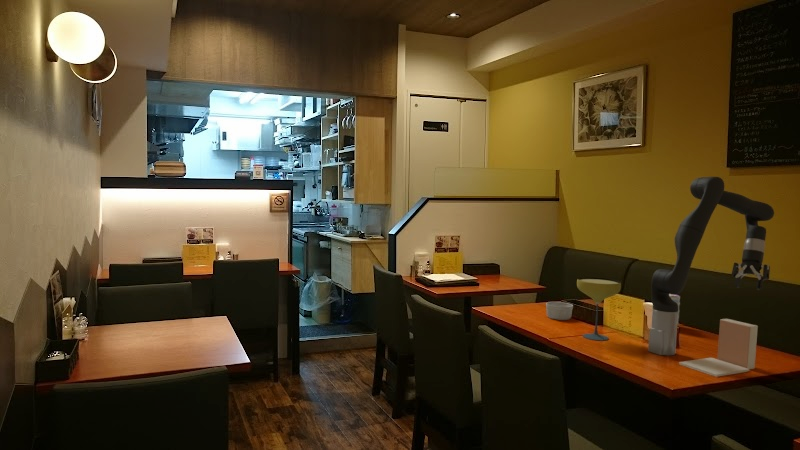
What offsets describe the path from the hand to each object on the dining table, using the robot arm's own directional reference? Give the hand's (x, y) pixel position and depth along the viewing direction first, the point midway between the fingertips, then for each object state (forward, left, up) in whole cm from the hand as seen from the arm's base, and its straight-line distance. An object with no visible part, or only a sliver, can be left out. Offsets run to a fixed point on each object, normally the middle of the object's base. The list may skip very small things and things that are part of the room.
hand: (748, 288), depth 240 cm
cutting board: (-40, -15, -25) cm, 49 cm away
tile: (-27, -15, -25) cm, 40 cm away
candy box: (-1, +36, -25) cm, 44 cm away
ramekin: (-39, +69, -25) cm, 84 cm away
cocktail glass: (-50, +33, -25) cm, 65 cm away
